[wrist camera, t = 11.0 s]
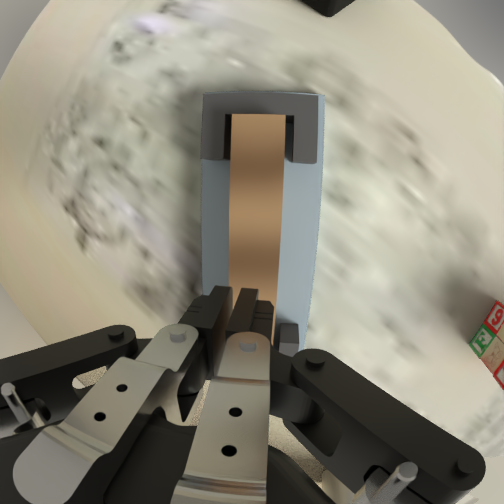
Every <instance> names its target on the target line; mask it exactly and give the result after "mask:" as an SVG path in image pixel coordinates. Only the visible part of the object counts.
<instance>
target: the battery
mask: <svg viewBox="0 0 504 504" xmlns="http://www.w3.org/2000/svg"><path fill="white" fill-rule="evenodd" d="M302 1H303V2H305V3H307V4H308V5H310V6H311V7H313V8H314V9H316V10H317V11H319V12H320V13H322V14H323V15H325V16H327V17H332V16H334V15H335V14H336V13H338V12H339V11H341V10H342V9H343V8H345V7H346V6H348V5H349V4H351V3H352V2H354V1H355V0H302Z"/></svg>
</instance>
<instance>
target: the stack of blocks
mask: <svg viewBox="0 0 504 504" xmlns="http://www.w3.org/2000/svg"><path fill="white" fill-rule="evenodd" d="M469 346H470V347H471V348H472V350H473V351H474V352H475V354H476V355H477V356H478V358H479V359H481V360H482V361H483V363H484V364H485V365H486V367H487V368H488V369H489V370H490V372H491V373H492V374H493V377H494V378H495V380H496V381H497V382H498V384H499V385H500V386H501V388H502V389H503V390H504V305H503V304H501V303H500V302H499V301H497V302H496V303H495V305H494V307H493V308H492V310H491V312H490V313H489V315H488V317H487V318H486V320H485V321H484V323H483V325H482V326H481V328H480V329H479V331H478V332H477V334H476V335H475V337H474V338H473V339H472V341H471V342H470V344H469Z"/></svg>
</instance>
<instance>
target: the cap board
mask: <svg viewBox="0 0 504 504" xmlns="http://www.w3.org/2000/svg"><path fill="white" fill-rule="evenodd" d="M324 107H325V95H320V94H309V93H295V92H274V91H230V92H209V93H205V94H204V97H203V114H202V136H201V159H202V188H201V246H202V288H203V295H208V296H209V294H210V293H211V291H212V289H213V288H214V286H215V285H218V286H229V201H230V160H231V129H232V114H276V115H286V121H285V157H284V182H283V204H282V224H281V242H280V258H279V274H278V288H277V302H276V315H275V328H274V340H273V347H274V349H276V350H277V351H278V352H280V353H282V354H284V355H287V356H291V357H293V356H294V355H295V354H296V353H297V352H299V351H301V350H304V345H305V338H306V332H307V325H308V318H309V311H310V304H311V296H312V288H313V280H314V271H315V262H316V252H317V242H318V231H319V219H320V206H321V191H322V174H323V151H324ZM221 361H222V360H221ZM220 364H221V363H220ZM219 368H220V366H219ZM218 372H219V369H218ZM218 372H217V375H216V376H218Z"/></svg>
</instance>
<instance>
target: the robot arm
mask: <svg viewBox="0 0 504 504" xmlns="http://www.w3.org/2000/svg"><path fill="white" fill-rule="evenodd" d="M258 297H259V289H254V288H241V290H240V293H239V295H238V298H237V301H236V303H235V306H234V309H233V288H232V287H229V286H218V285H215V286H214V288H213V289H212V291H211V293H210V294H209V296H208V295H201V296H200V297H198V298H196V299H194V301H193V302H192V303H191V305H190V307H189V308H188V309H187V312H185V314H184V315H183V317H182V318H181V319H180V321H179V322H178V324H172V325H168V326H166V327H164V328H162V329H161V330H160V331H159V332H158V333H157V334H156V335H155V337H154V338H151V339H136V334H135V331H134V329H133V328H131V327H129V326H126V325H113V326H109V327H106V328H103V329H100V330H96V331H93V332H90V333H87V334H84V335H81V336H77V337H74V338H71V339H68V340H64V341H61V342H58V343H55V344H51V345H48V346H45V347H41V348H38V349H35V350H31V351H28V352H24V353H21V354H18V355H14V356H11V357H7V358H3V359H0V504H455V503H457V502H458V501H459V500H460V499H462V498H463V497H464V496H465V495H466V494H468V493H469V492H470V491H471V490H472V489H473V488H475V487H476V486H477V485H478V484H479V483H480V482H481V481H482V479H483V477H484V475H485V469H486V466H485V461H484V458H483V457H482V455H481V454H480V453H479V452H478V451H477V450H475V449H474V448H472V447H471V446H469V445H467V444H466V443H464V442H462V441H461V440H459V439H457V438H456V437H454V436H453V435H451V434H449V433H448V432H446V431H445V430H443V429H441V428H440V427H438V426H437V425H435V424H434V423H432V422H430V421H429V420H427V419H426V418H424V417H423V416H421V415H420V414H418V413H417V412H415V411H413V410H412V409H410V408H409V407H407V406H406V405H404V404H403V403H401V402H400V401H398V400H397V399H395V398H394V397H392V396H391V395H389V394H388V393H386V392H385V391H384V390H382V389H381V388H379V387H378V386H376V385H375V384H373V383H372V382H370V381H369V380H368V379H366V378H365V377H363V376H362V375H360V374H359V373H357V372H356V371H355V370H353V369H352V368H350V367H349V366H348V365H346V364H345V363H343V362H342V361H340V360H339V359H338V358H336V357H335V356H333V355H332V354H330V353H329V352H327V351H324V350H320V349H304V350H301V351H299V352H297V353H296V354H295V355H294V356H293V357H291V356H287V355H284V354H282V353H280V352H278V351H277V350H276V349H274V347H273V346H272V344H271V340H272V328H273V316H274V306H273V305H272V303H271V302H270V301H266V300H258ZM221 360H222V361H221ZM220 363H221V364H220ZM103 366H106V369H107V372H106V373H105V374H104V375H103V376H102V377H101V378H100V380H99V381H98V382H97V383H96V384H93V385H90V386H88V387H85V388H82V389H76V388H74V387H73V386H72V381H73V379H74V378H75V377H76V376H78V375H80V374H83V373H86V372H89V371H92V370H94V369H97V368H100V367H103ZM219 366H220V368H219ZM218 369H219V372H218ZM217 372H218V376H216V375H217ZM205 380H211V381H210V384H209V388H208V391H207V395H206V398H205V402H204V405H203V409H202V412H201V415H200V419H199V422H198V426H189V425H190V423H191V421H192V419H193V416H194V414H195V412H196V410H197V407H198V405H199V403H200V401H201V398H202V396H203V385H204V383H205ZM269 414H270V415H273V416H276V417H279V418H282V419H283V424H284V425H285V427H286V428H287V429H288V430H289V431H290V432H291V433H292V434H293V435H294V436H295V437H296V438H297V440H298V441H299V442H300V443H301V444H302V445H303V446H304V447H305V448H306V449H307V450H308V451H309V452H310V453H311V454H312V455H313V456H314V457H315V458H316V459H317V460H318V461H319V462H320V463H321V464H322V465H323V466H324V467H326V468H327V469H326V470H325V471H324V472H323V473H322V489H321V488H320V487H319V486H318V485H317V484H316V483H315V482H314V481H313V480H312V479H311V478H310V477H309V476H308V475H307V474H306V473H305V472H304V471H303V470H302V469H301V468H300V466H299V465H298V464H297V463H296V462H295V461H294V460H292V459H291V458H290V457H289V456H288V455H286V454H285V453H283V452H282V451H280V450H278V449H276V448H274V447H272V446H270V445H268V433H269Z"/></svg>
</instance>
